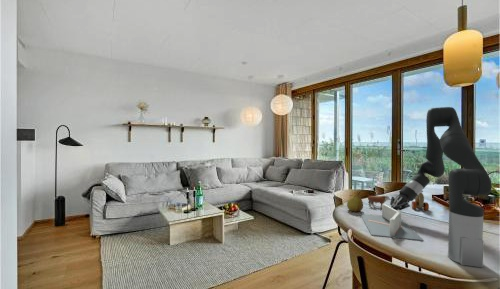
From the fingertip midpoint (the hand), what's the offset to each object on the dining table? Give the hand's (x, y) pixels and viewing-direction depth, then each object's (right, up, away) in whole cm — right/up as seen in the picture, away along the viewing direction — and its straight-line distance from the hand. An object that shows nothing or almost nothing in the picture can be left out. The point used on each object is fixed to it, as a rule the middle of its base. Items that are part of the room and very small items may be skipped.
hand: (389, 213), depth 131 cm
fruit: (-11, -4, +17) cm, 21 cm away
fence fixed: (-7, -4, -16) cm, 18 cm away
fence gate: (-1, -3, -3) cm, 4 cm away
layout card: (-6, -4, -9) cm, 11 cm away
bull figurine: (+8, -4, +26) cm, 27 cm away
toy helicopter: (+33, -4, +26) cm, 42 cm away
